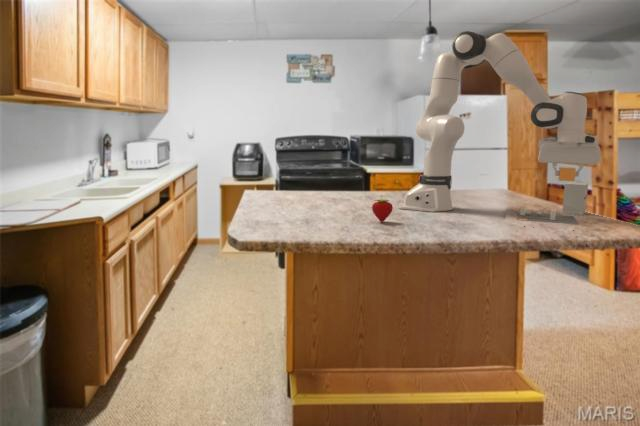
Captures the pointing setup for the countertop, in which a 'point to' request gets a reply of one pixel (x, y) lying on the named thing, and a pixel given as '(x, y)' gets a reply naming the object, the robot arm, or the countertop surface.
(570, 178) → the orange block
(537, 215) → the breaker panel
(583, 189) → the supplement box
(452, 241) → the countertop surface
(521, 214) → the untagged breaker
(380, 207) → the strawberry
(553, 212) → the tagged breaker
